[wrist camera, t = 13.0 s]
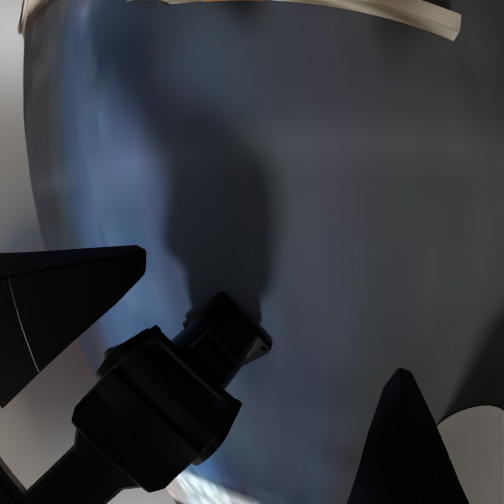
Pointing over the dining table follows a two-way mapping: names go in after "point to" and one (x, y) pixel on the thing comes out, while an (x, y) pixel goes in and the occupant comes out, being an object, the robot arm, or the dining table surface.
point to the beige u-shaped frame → (373, 12)
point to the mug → (477, 452)
